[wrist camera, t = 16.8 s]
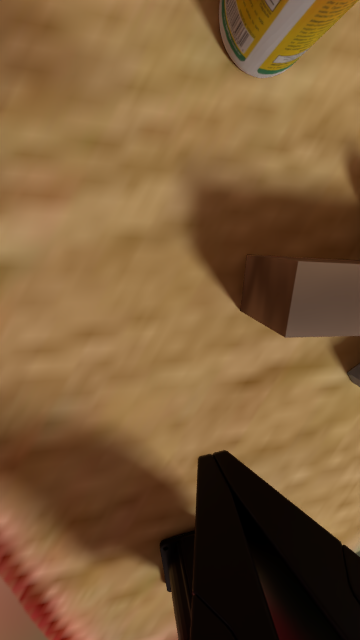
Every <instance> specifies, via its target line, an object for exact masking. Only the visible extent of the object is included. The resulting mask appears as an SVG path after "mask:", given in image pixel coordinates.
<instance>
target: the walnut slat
mask: <svg viewBox="0 0 360 640" xmlns="http://www.w3.org/2000/svg"><path fill="white" fill-rule="evenodd" d="M240 311H242V312H243V313H245V314H247V315H248V316H250V317H252V318H253V319H255V320H257V321H258V322H260V323H262V324H263V325H265V326H267V327H268V328H270V329H272V330H274V331H275V332H277V333H279V334H280V335H282V336H284V337H330V336H360V260H340V259H321V258H301V257H282V256H262V255H247V259H246V267H245V275H244V284H243V292H242V300H241V308H240Z"/></svg>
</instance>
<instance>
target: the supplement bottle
mask: <svg viewBox="0 0 360 640" xmlns="http://www.w3.org/2000/svg"><path fill="white" fill-rule="evenodd" d="M357 1H359V0H220V4H219V24H220V32H221V36H222V40H223V43H224V46H225V48H226V50H227V52H228V54H229V56H230V58H231V59H232V61H233V62H234V63H235V64H236V65H237V66H238V67H239V68H240V69H241V70H242V71H244V72H245V73H247V74H249V75H251V76H254V77H258V78H267V77H272V76H276V75H278V74H280V73H282V72H284V71H285V70H287V69H288V68H289V67H291V66H292V65H293V64H294V63H295V62H296V61H297V60H298V59H299V58H300V57H301V56H302V55H303V54H304V53H305V52H306V51H307V50H308V49H309V48H310V47H311V46H312V45H313V44H314V43H315V42H316V41H317V40H318V39H319V38H320V37H321V36H322V35H323V34H324V33H325V32H327V31H328V30H329V29H330V28H331V27H332V26H333V25H334V24H335V23H336V22H337V21H338V20H339V19H340V18H341V17H342V16H343V15H344V14H345V13H346V12H347V11H348V10H349V9H350V8H351V7H352V6H353V5H354V4H355V3H356V2H357Z"/></svg>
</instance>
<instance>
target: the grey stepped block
mask: <svg viewBox="0 0 360 640" xmlns="http://www.w3.org/2000/svg"><path fill="white" fill-rule="evenodd" d="M347 374H348V375H349V377H350V379H351V381H352V382H353V383H354V384H356V385H358V386H359V387H360V364H358V365H357V366H356V367H354V368H353V369H352V370H350V371H349V372H348V373H347Z"/></svg>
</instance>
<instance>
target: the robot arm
mask: <svg viewBox="0 0 360 640" xmlns="http://www.w3.org/2000/svg"><path fill="white" fill-rule="evenodd" d="M160 551H161V557H162V563H163V569H164V574H165V580H166V586H167V591H168V592H172V599H173V606H174V613H175V619H176V626H177V633H178V640H360V557H359V556H358V555H357V554H356V553H354V552H353V551H352V550H351V549H349V548H348V547H347V546H346V545H342V544H341V542H340V541H339V540H338V539H337V538H335V537H334V536H333V535H332V534H330V533H329V532H328V531H327V530H325V529H324V528H323V527H322V526H320V525H319V524H318V523H317V522H315V521H314V520H313V519H312V518H310V517H309V516H308V515H307V514H305V513H304V512H303V511H302V510H300V509H299V508H298V507H297V506H295V505H294V504H293V503H292V502H290V501H289V500H288V499H287V498H285V497H284V496H283V495H282V494H280V493H279V492H278V491H277V490H275V489H274V488H273V487H272V486H270V485H269V484H268V483H267V482H265V481H264V480H263V479H262V478H260V477H259V476H258V475H257V474H255V473H254V472H253V471H252V470H250V469H249V468H248V467H247V466H245V465H244V464H243V463H242V462H240V461H239V460H238V459H237V458H235V457H234V456H233V455H232V454H230V453H229V452H228V451H226V450H223V451H219V452H215V453H213V455H212V454H207V455H203V456H199V458H198V470H197V494H196V518H195V531H193V532H190V533H187V534H183V535H180V536H176V537H173V538H170V539H166V540H163V541H162V542H161V543H160Z"/></svg>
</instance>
